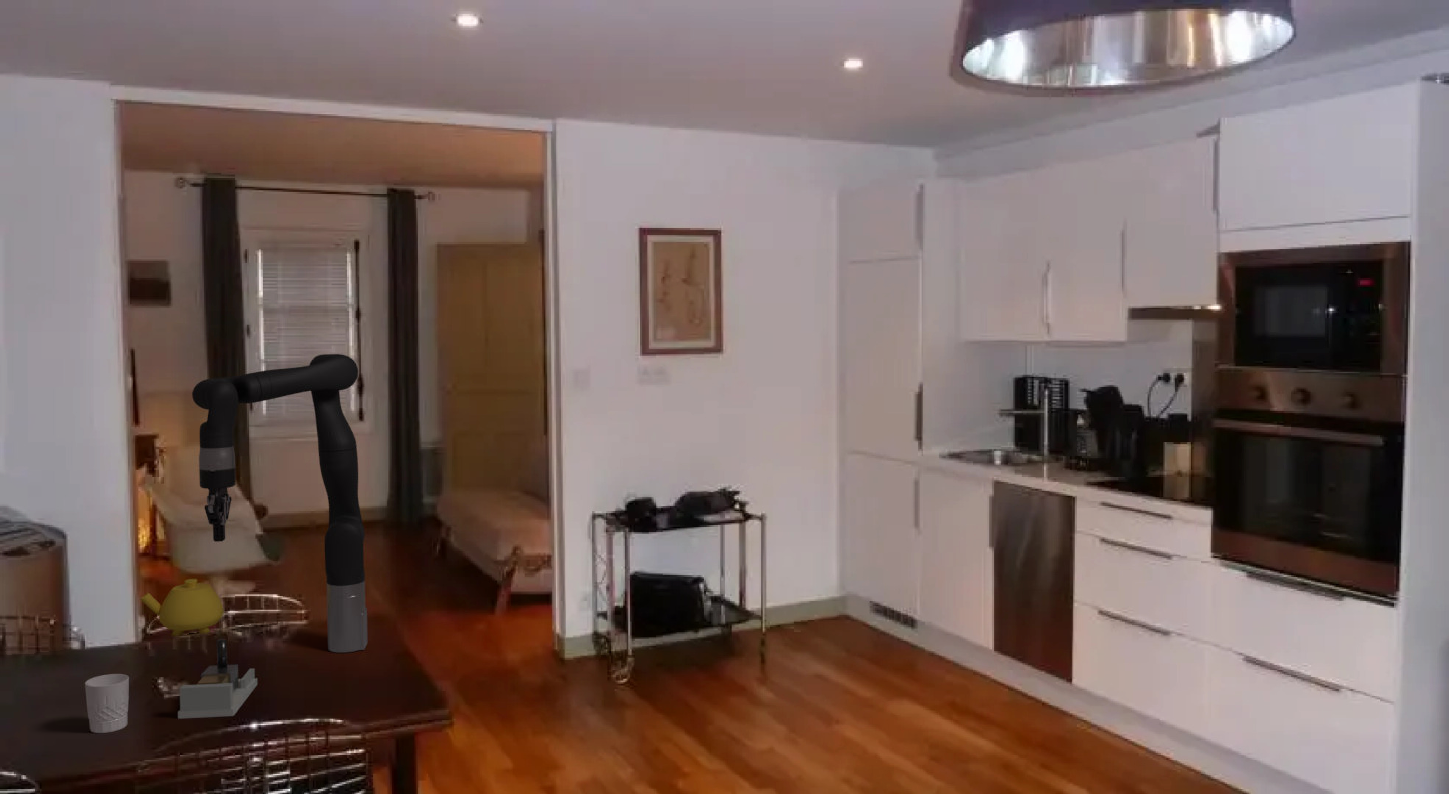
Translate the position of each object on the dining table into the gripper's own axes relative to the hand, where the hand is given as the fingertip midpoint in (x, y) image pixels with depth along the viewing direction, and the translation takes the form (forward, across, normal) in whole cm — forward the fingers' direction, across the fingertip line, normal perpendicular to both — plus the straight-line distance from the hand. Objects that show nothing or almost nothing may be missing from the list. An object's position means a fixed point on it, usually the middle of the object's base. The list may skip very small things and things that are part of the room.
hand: (219, 540), depth 253 cm
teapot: (+33, -44, -22) cm, 59 cm away
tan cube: (+32, +19, +3) cm, 37 cm away
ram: (+31, +13, +3) cm, 34 cm away
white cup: (+33, +27, -15) cm, 45 cm away
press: (+33, +14, +3) cm, 36 cm away
